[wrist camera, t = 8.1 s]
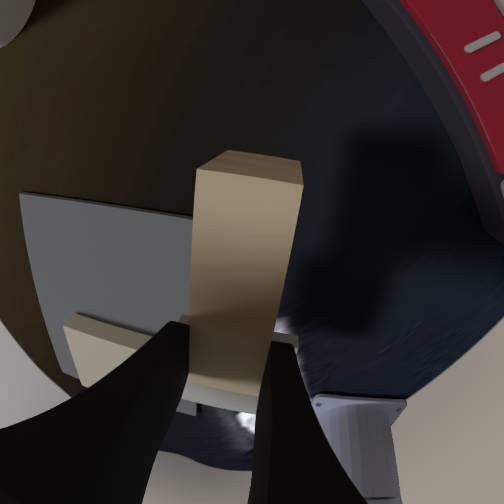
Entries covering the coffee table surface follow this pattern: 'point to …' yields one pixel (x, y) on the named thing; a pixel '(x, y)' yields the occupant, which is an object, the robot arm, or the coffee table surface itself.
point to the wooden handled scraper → (238, 274)
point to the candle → (13, 18)
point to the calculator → (459, 83)
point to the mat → (107, 267)
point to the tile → (99, 346)
